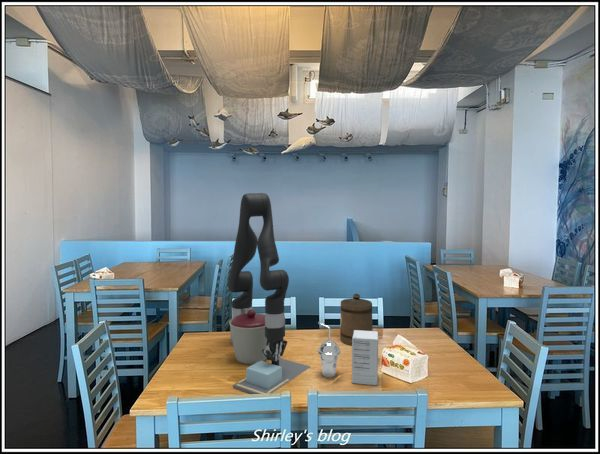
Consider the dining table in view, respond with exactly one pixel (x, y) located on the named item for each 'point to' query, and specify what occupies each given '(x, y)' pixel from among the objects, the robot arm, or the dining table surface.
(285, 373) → the display board
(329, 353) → the cup with straw
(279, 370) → the carton
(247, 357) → the canister
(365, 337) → the supplement box
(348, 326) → the wooden container
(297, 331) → the dining table surface
